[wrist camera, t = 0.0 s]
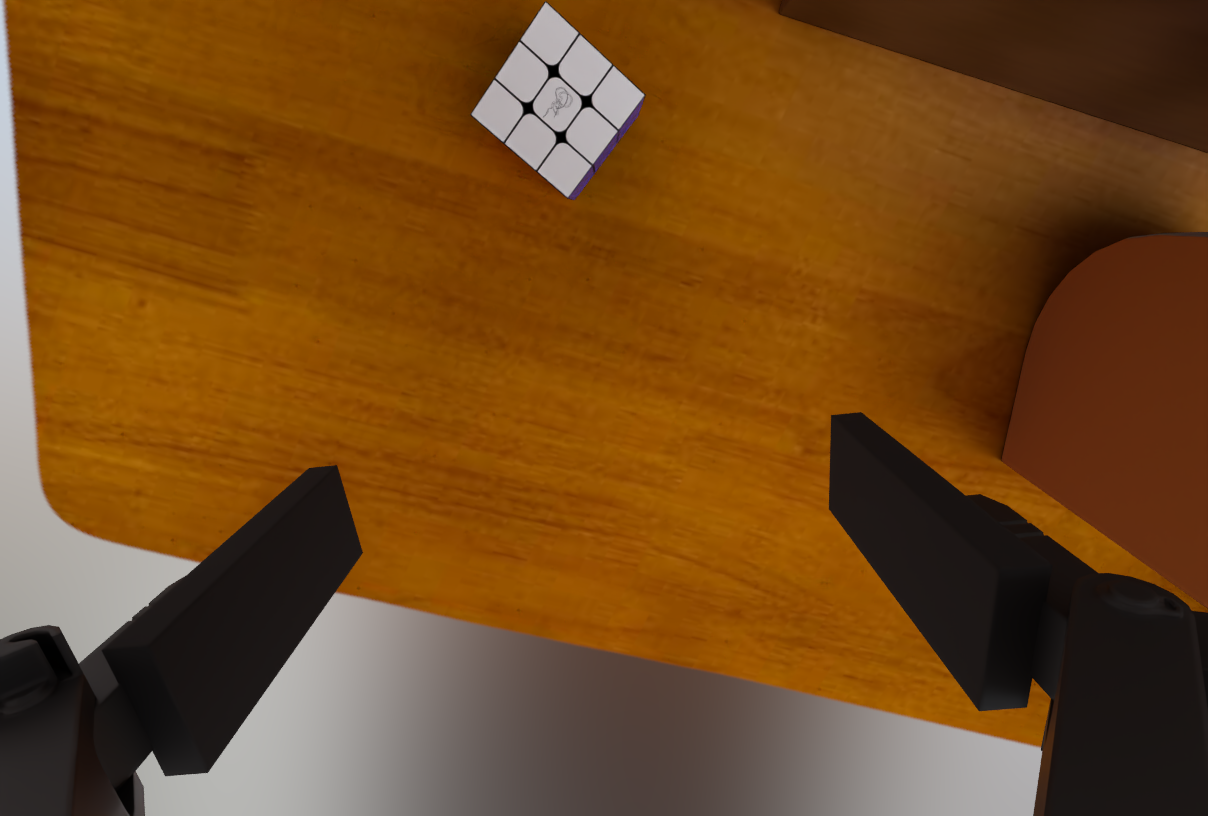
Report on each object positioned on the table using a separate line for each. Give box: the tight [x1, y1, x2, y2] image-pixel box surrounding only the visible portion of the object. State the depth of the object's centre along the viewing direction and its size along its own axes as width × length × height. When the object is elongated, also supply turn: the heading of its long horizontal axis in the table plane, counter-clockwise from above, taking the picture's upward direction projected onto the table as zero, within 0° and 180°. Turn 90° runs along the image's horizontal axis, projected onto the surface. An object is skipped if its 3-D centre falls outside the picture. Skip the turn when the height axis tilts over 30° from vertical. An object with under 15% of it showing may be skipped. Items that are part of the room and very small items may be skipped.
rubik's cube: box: [470, 1, 645, 200], centre depth 25 cm, size 5×5×5 cm
